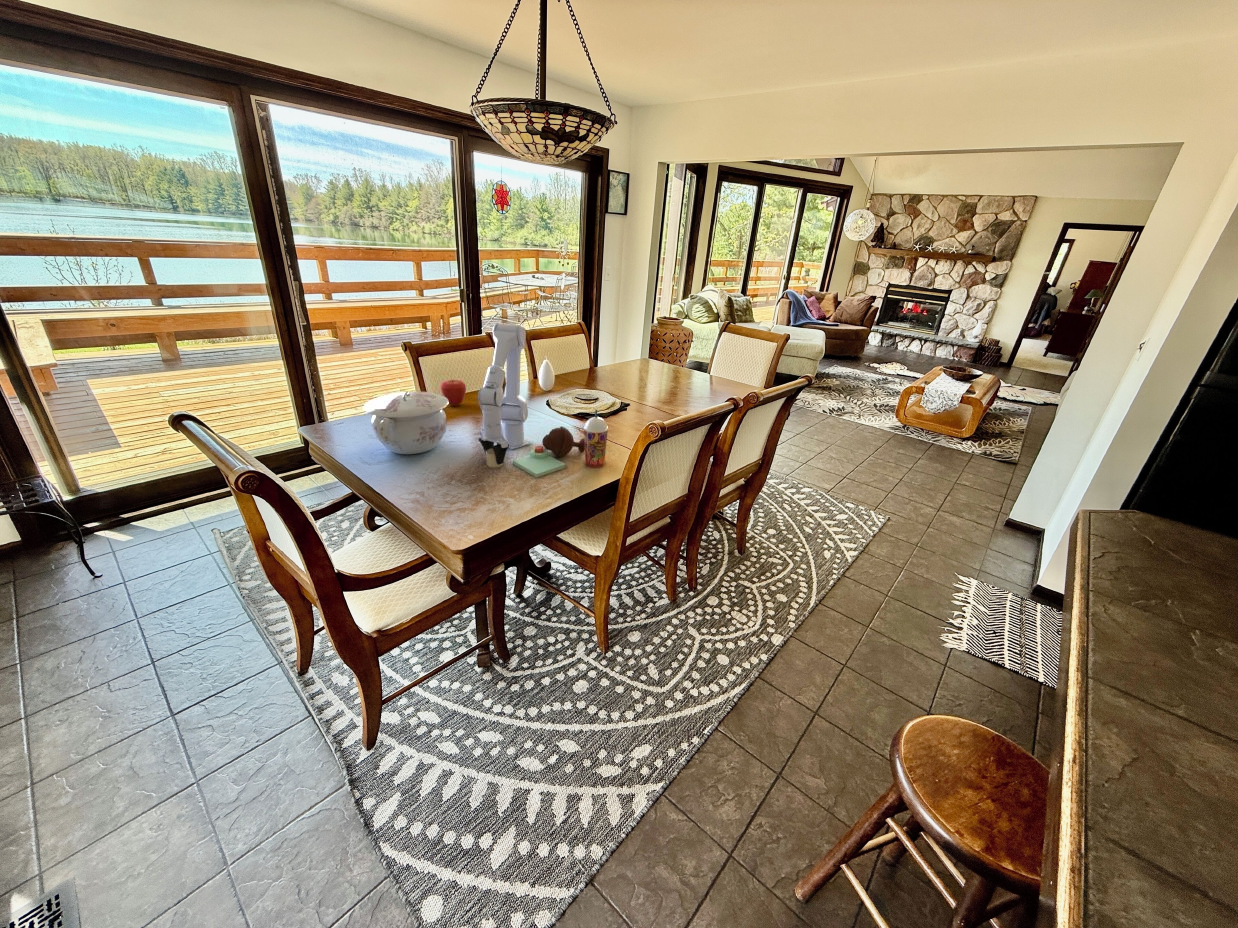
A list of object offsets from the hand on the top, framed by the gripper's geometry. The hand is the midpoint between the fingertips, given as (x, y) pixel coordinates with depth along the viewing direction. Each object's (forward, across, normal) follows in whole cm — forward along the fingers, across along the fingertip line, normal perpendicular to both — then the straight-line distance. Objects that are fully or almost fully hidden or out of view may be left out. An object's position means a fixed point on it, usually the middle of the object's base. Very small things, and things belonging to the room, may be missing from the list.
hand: (494, 460), depth 164 cm
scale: (+2, +10, +11) cm, 15 cm away
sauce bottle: (+2, -59, +66) cm, 89 cm away
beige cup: (+2, 0, 0) cm, 2 cm away
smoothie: (+2, +21, +27) cm, 34 cm away
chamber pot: (+2, -31, -15) cm, 34 cm away
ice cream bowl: (-1, +11, +30) cm, 32 cm away
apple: (+2, -65, +19) cm, 68 cm away
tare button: (-1, +6, +14) cm, 16 cm away
